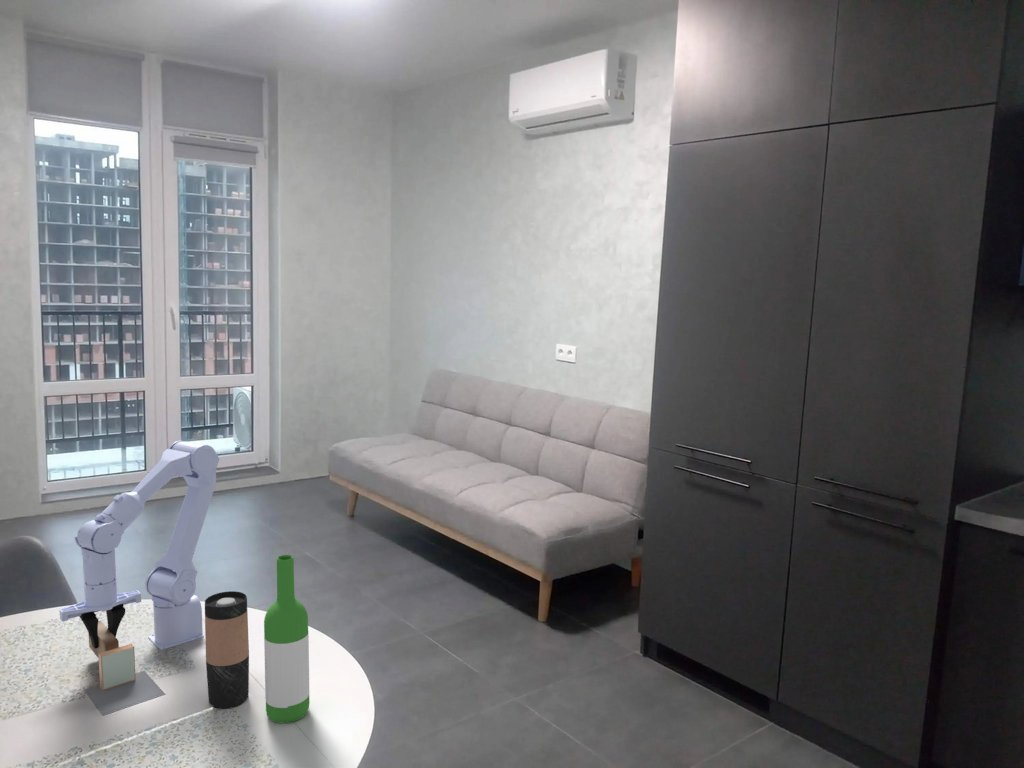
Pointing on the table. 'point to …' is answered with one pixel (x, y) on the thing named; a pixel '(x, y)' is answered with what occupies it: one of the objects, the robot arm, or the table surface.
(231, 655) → the travel mug
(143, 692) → the mat
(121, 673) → the block
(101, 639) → the bar
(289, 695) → the wine bottle
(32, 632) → the table surface
